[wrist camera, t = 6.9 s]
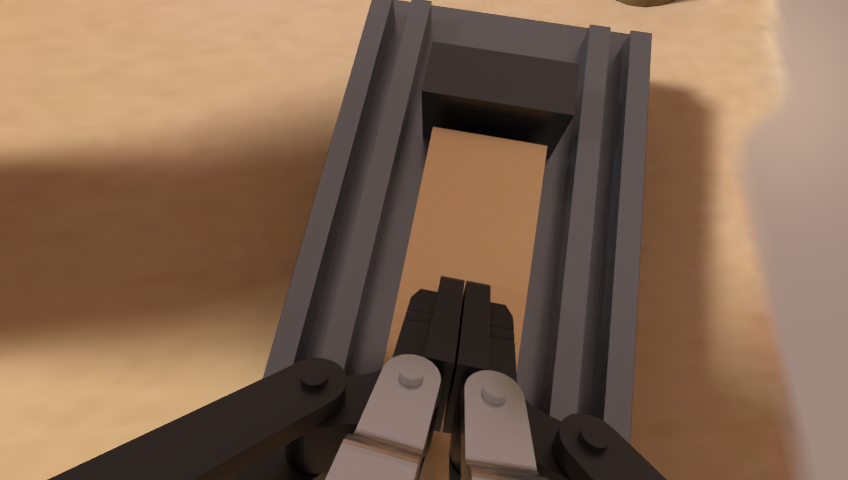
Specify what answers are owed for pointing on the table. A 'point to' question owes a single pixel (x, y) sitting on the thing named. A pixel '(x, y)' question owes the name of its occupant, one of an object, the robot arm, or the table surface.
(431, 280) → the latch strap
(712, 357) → the table surface
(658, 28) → the table surface
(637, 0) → the olive pawn
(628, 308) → the grey slider box
